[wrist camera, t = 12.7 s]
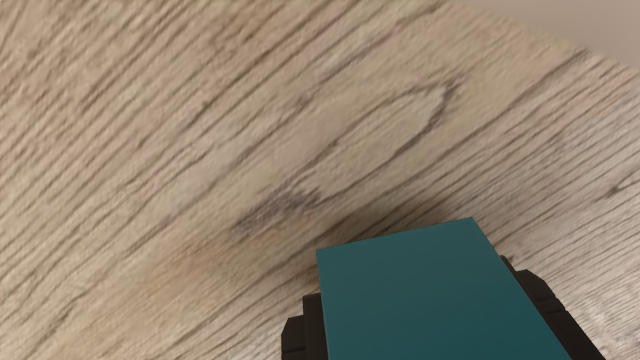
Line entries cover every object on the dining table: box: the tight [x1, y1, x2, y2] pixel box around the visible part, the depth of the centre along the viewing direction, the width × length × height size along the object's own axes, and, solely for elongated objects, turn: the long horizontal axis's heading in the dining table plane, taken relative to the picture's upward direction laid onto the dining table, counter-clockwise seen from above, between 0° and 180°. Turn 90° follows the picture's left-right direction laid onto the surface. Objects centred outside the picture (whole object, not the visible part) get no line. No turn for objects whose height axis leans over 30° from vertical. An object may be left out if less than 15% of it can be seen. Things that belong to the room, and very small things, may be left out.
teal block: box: [316, 217, 572, 360], centre depth 11 cm, size 4×4×5 cm
